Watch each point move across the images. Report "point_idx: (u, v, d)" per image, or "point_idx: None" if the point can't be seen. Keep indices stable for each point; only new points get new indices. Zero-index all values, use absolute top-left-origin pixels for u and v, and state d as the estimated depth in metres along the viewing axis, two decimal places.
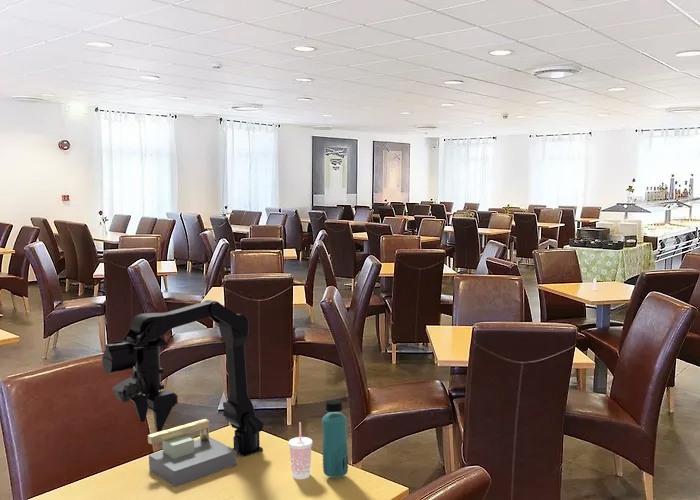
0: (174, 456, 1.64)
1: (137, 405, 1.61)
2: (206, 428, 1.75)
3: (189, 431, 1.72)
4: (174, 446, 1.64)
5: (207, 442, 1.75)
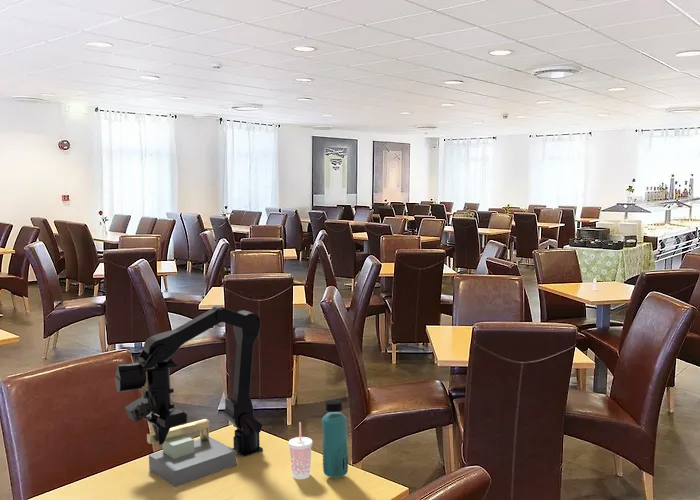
0: (174, 456, 1.64)
1: None
2: (206, 428, 1.75)
3: (189, 431, 1.72)
4: (174, 446, 1.64)
5: (207, 442, 1.75)
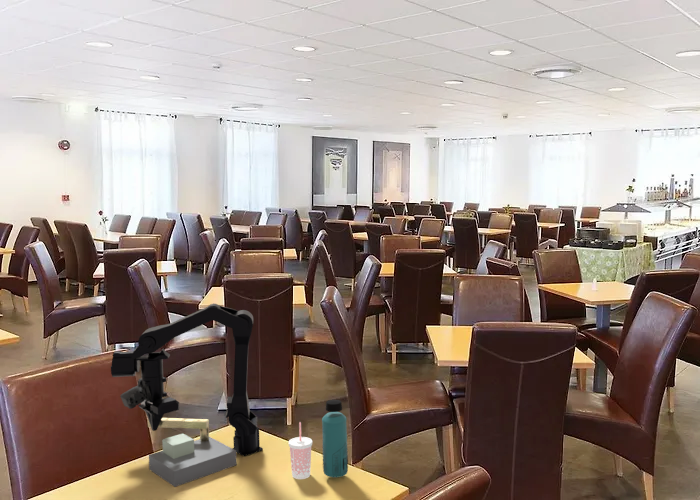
0: (174, 456, 1.64)
1: (149, 415, 1.74)
2: (203, 428, 1.75)
3: (185, 426, 1.75)
4: (174, 446, 1.64)
5: (207, 442, 1.75)
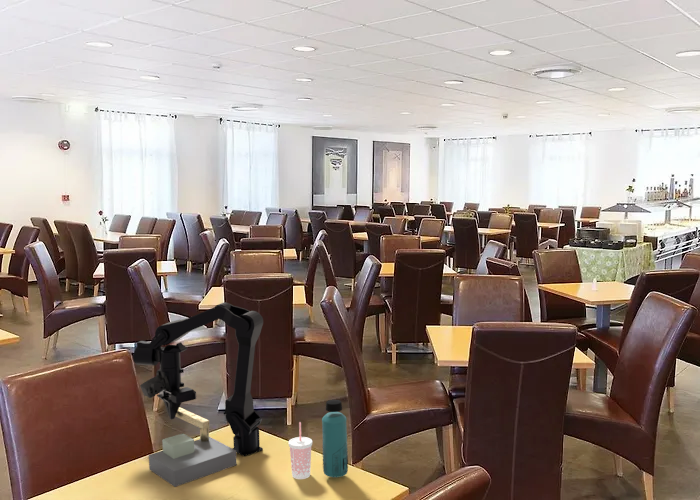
0: (174, 456, 1.64)
1: (167, 404, 1.83)
2: (200, 428, 1.75)
3: (191, 422, 1.79)
4: (174, 446, 1.64)
5: (207, 442, 1.75)
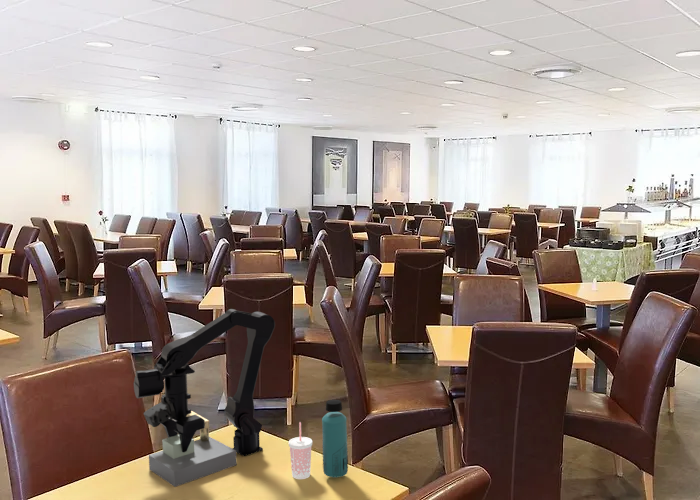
0: (174, 456, 1.64)
1: (168, 429, 1.70)
2: None
3: None
4: (174, 446, 1.64)
5: (207, 442, 1.75)
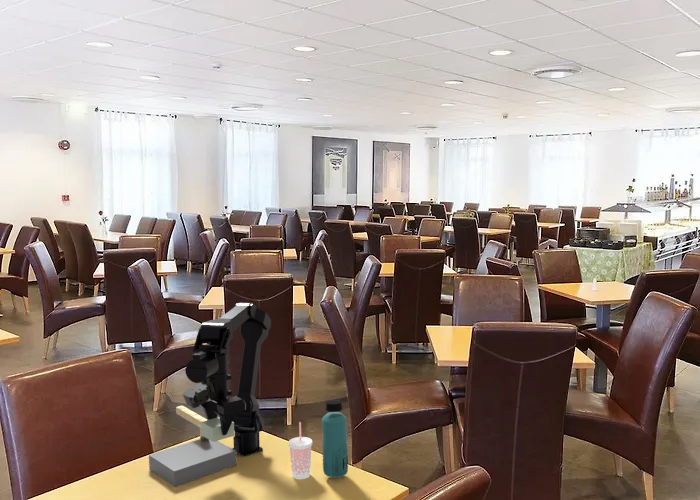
0: (214, 439, 1.57)
1: (207, 412, 1.63)
2: (200, 428, 1.75)
3: (192, 421, 1.79)
4: (214, 429, 1.57)
5: (207, 442, 1.75)
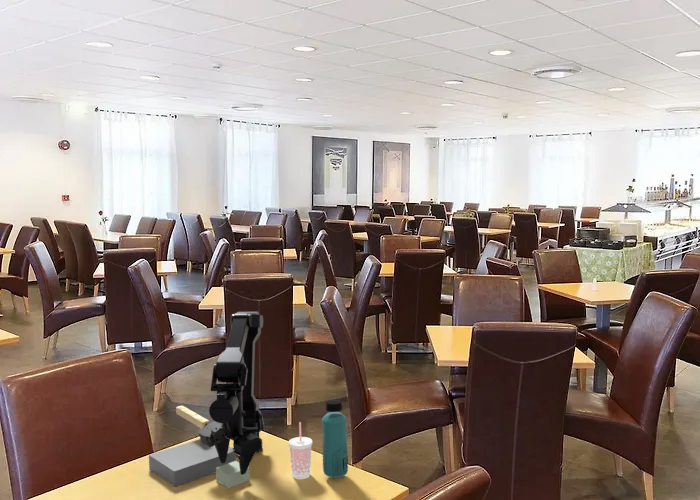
0: (230, 486, 1.57)
1: (218, 447, 1.63)
2: (200, 428, 1.75)
3: (192, 421, 1.79)
4: (230, 475, 1.56)
5: None
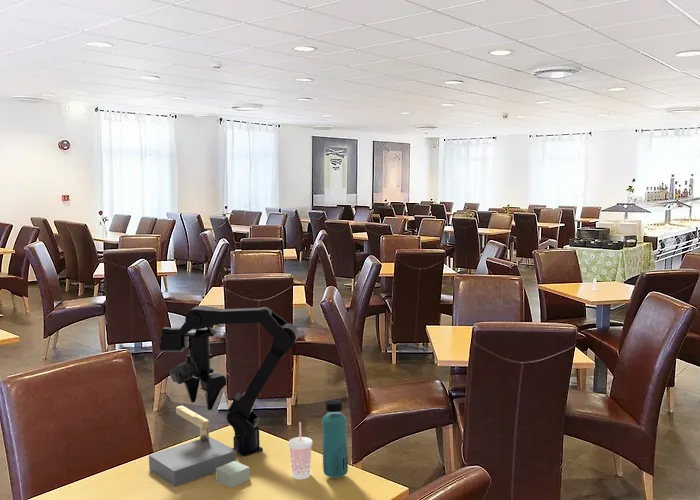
0: (231, 486, 1.57)
1: (188, 387, 1.81)
2: (200, 428, 1.75)
3: (192, 421, 1.79)
4: (231, 475, 1.56)
5: (207, 442, 1.75)
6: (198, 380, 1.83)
